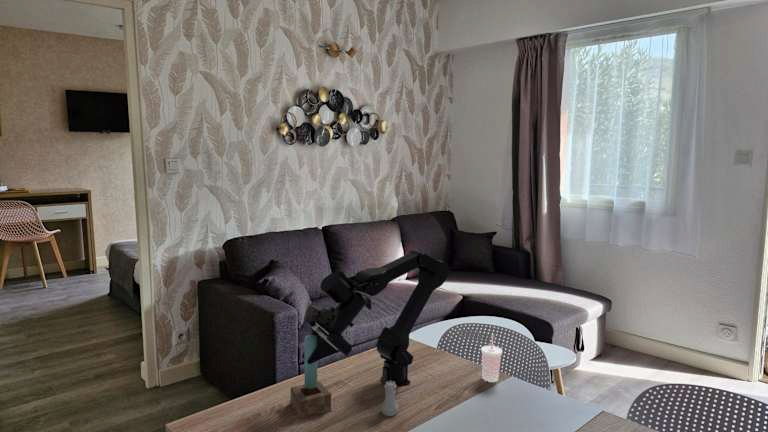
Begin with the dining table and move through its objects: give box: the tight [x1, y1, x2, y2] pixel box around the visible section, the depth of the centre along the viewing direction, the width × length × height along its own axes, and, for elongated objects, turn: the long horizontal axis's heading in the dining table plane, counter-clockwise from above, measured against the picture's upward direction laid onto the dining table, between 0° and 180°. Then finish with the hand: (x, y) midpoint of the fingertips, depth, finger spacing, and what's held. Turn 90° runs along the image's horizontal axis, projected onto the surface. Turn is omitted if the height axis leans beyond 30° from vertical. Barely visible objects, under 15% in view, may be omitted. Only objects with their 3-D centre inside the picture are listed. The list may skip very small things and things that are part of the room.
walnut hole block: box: [290, 380, 332, 419], centre depth 130 cm, size 8×8×4 cm
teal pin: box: [304, 334, 318, 389], centre depth 129 cm, size 3×3×13 cm
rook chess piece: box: [380, 381, 399, 417], centre depth 129 cm, size 4×4×8 cm
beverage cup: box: [480, 332, 503, 383], centre depth 148 cm, size 6×6×14 cm
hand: (305, 360), depth 128 cm, fingers closed on teal pin, 3 cm apart
